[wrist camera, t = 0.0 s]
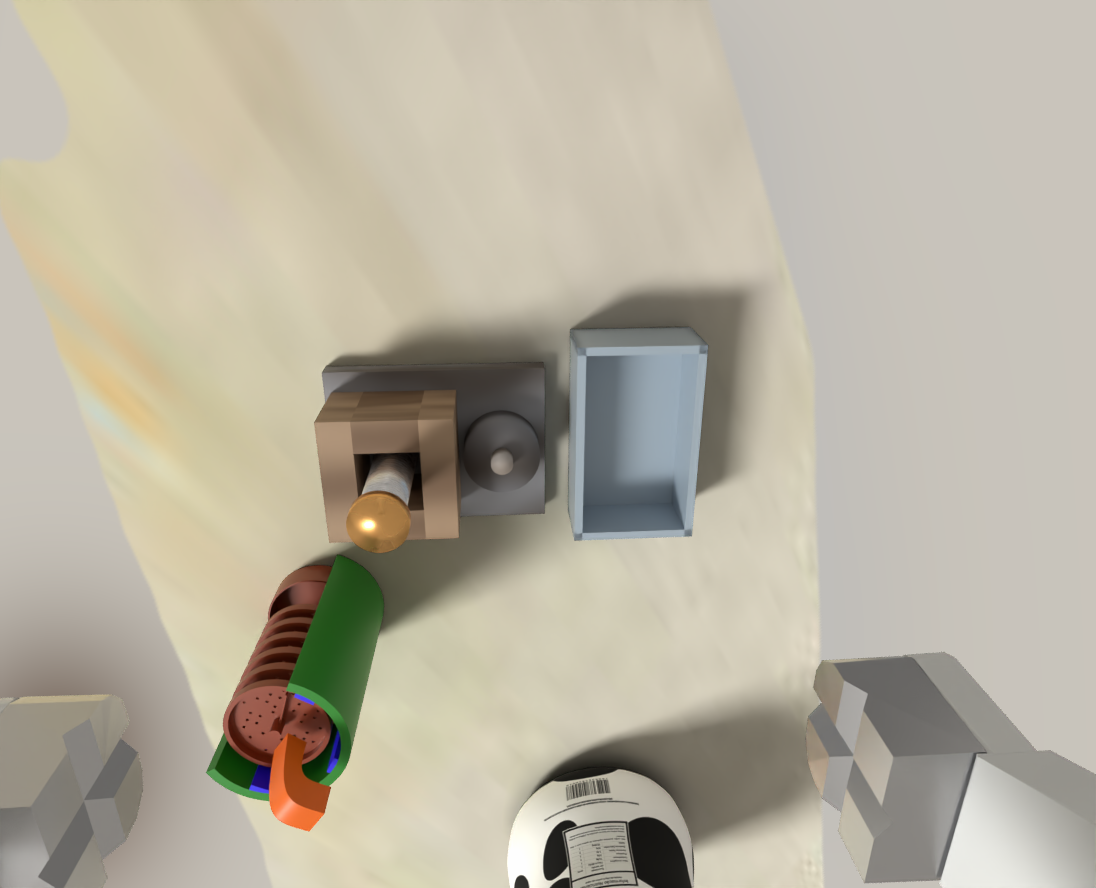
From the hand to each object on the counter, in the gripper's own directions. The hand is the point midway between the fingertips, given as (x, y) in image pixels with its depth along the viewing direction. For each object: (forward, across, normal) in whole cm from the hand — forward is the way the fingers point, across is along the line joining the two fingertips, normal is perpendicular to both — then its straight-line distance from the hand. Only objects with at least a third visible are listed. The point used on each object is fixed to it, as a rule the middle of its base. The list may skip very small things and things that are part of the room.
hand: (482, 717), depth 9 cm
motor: (+48, +14, +31) cm, 59 cm away
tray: (+48, -10, +15) cm, 51 cm away
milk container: (+48, -9, +57) cm, 75 cm away
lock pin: (+46, +7, +16) cm, 50 cm away
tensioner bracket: (+48, +4, +16) cm, 51 cm away
